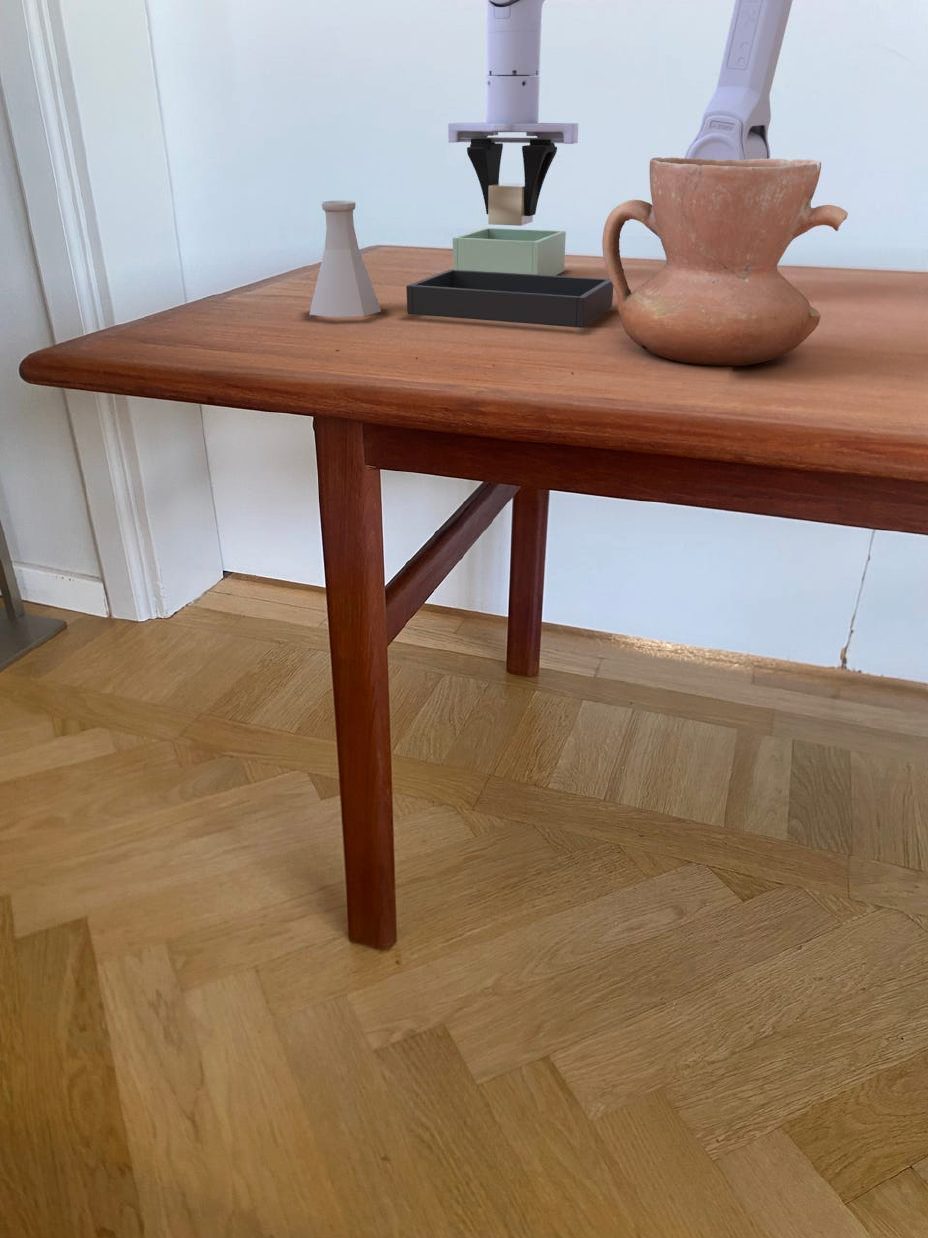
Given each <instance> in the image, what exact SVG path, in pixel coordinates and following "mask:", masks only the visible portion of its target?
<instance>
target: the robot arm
mask: <svg viewBox="0 0 928 1238" xmlns="http://www.w3.org/2000/svg"><path fill="white" fill-rule="evenodd" d="M793 1H794V0H734V6H733V9H732V10H733V11H732V15H731V18H730V24H729V28H728V33H727V37H726V41H725V47H724V52H723V56H722V60H721V64H720V69H719V74H718V79H717V83H716V88H715V91H714V93H713V94H712V97H711V98H710V100H709V102H708V103H707V105H706V108H705V110H704V112H703V115H702V119H701V123H700V124H701V125H700V126H699V129H698V132H697V134H696V136H695V137H694V138H693V140H692V141H691V143H690V144H689V145H688V148H687V150H686V152H685V153H684V157H683V158H687V159H713V160H729V159H731V160H736V161H738V160H747V159H771V148H770V145H769V140H768V139H769V138H768V135H769V128H770V123H771V120H772V111H771V110H772V109H771V100H770V98H771V97H770V94H771V90H772V86H773V81H774V78H775V74H776V69H777V66H778V61H779V58H780V53H781V51H782V50H781V49H782V46H783V41H784V38H785V33H786V29H787V24H788V21H789V17H790V13H791V9H792V5H793ZM544 3H545V0H486V75H485V76H486V87H485V88H486V90H485V91H486V92H485V93H486V95H485V96H486V98H485V99H486V100H485V103H486V105H485V108H486V109H485V111H486V112H485V115H486V116H485V122H448V123H447V140H448V143H470V144H469V146H468V147H466V153H467V157H468V158H469V160H470V162H471V164H472V167H473V169H474V171H475V173H476V176H477V179H478V181H479V186H480V189H481V192H482V193H481V194H482V198H483V202H484V206H485V213H486V215H488V199H489V186H490V185H494V184H499V183H500V172H501V161H502V154H503V149H504V144H505V143H507V144H509V143H510V144H514V143H515V144H526V145H522V146H521V153H522V161H523V173H524V184H525V190H524V215H525V216H532V215H533V216H535V215H536V213H537V207H538V202H539V197H540V195H541V191H542V187H543V185H544V181H545V178H546V176H547V173H548V171H549V169H550V167H551V165H552V162H553V161H554V158H555V157H556V154H557V152H558V146H556V144H563V145H567V144H568V145H574V144H578V143H579V123H578V122H539V119H540V118H539V112H540V87H541V86H540V84H541V83H540V81H541V77H540V75H541V48H542V47H541V46H542V15H543V14H542V11H543V5H544ZM499 133H525V134H526V135H525V136H526V137H509V136H508V137H507V136H505V137H503V136H501V137H500V136H499ZM495 136H496V137H495ZM497 136H498V137H497ZM528 144H529V145H528Z"/></svg>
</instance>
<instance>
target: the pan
mask: <svg viewBox="0 0 928 1238" xmlns="http://www.w3.org/2000/svg"><path fill="white" fill-rule="evenodd" d="M405 287H406V313H407V315H415V316H427V317H443V318H453V319H454V318H455V319H464V320H465V319H466V320H478V321H492V322H501V323H503V322H504V323H516V324H528V325H539V326H540V325H541V326H552V327H553V326H556V327H566V328H577V329H578V328H580V329H583V328H585V327H586V326H588V325H589V324H590V323H592V322H593V321H595V320H596V319H598V317H600V316H602V315H603V314H605V312H607V311H609V310H610V309H611V308H612V307H613V298H614V287H613V284H612V282H611V280H610V278H597V277H582V276H581V277H580V276H567V275H566V276H565V275H564V276H563V275H556V276H550V275H534V274H517V273H501V272H484V271H468V270H453V269H452V268H451V269H448V270H444V271H442V272H439V273H436V274H434V275H431V276H428V277H426V278H423V279H421V280H419V281H415V282H412V283H410V284H407V285H406V286H405Z"/></svg>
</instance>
